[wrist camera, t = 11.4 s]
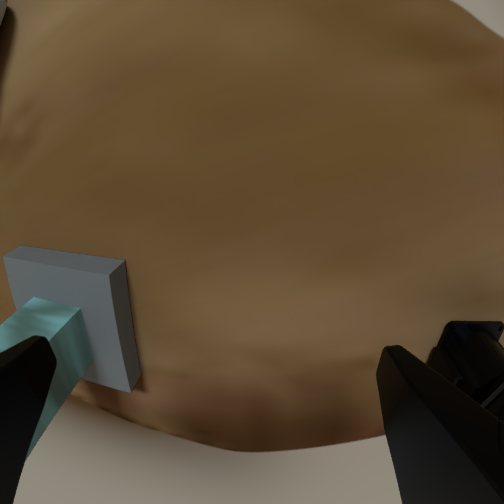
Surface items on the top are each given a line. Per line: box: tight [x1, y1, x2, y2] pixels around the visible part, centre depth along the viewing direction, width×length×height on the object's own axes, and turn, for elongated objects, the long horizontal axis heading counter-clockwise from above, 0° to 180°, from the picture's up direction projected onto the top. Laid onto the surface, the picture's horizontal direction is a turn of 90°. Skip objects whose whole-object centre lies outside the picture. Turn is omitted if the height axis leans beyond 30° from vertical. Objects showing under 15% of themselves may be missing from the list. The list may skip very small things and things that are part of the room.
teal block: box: [0, 297, 94, 461], centre depth 16 cm, size 5×5×13 cm
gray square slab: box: [3, 245, 141, 393], centre depth 23 cm, size 11×11×2 cm
